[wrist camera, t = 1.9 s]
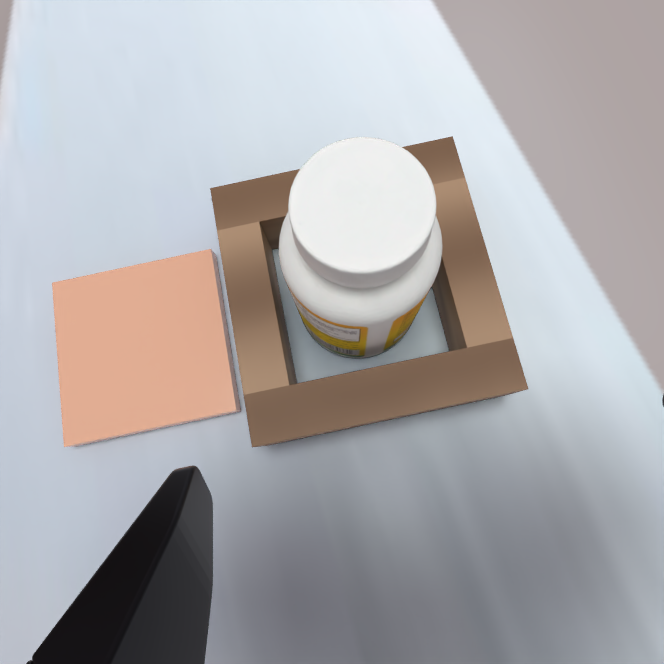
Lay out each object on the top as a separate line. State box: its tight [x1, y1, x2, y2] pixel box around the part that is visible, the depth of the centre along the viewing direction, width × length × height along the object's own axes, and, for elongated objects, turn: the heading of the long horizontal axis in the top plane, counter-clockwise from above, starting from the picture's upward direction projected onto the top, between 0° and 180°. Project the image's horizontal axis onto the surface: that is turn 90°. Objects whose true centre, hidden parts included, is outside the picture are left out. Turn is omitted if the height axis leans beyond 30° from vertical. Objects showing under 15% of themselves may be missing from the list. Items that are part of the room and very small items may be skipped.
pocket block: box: [210, 136, 528, 447], centre depth 20 cm, size 11×11×3 cm
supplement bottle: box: [279, 137, 442, 358], centre depth 17 cm, size 5×5×10 cm
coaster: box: [52, 249, 241, 447], centre depth 21 cm, size 8×8×1 cm
